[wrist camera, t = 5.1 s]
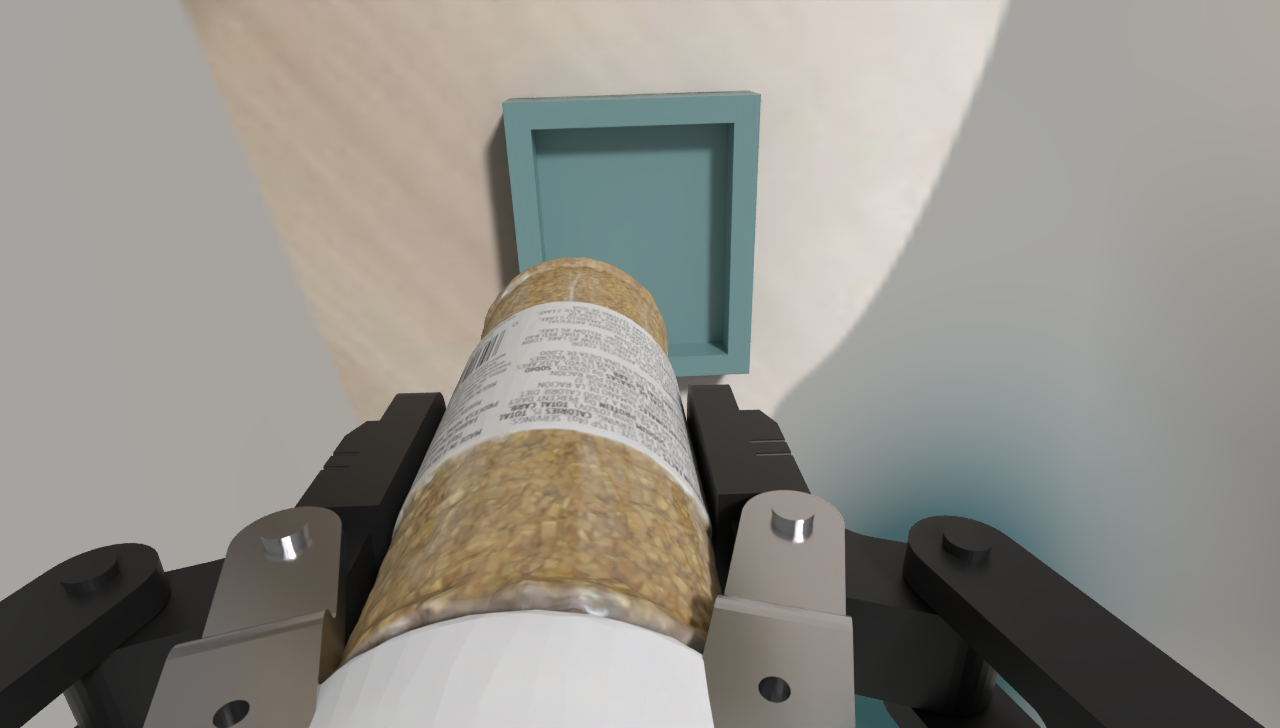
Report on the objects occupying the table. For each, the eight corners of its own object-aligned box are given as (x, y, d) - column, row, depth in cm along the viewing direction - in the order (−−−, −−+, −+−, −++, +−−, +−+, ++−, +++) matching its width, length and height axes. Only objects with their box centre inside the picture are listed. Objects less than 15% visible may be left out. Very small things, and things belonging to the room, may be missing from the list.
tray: (510, 98, 29) (502, 103, 27) (748, 90, 29) (760, 94, 27) (536, 360, 34) (531, 383, 32) (739, 351, 34) (748, 373, 32)
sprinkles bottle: (580, 454, 18) (535, 1258, 6) (443, 342, 17) (12, 1098, 5) (707, 338, 17) (976, 1035, 5) (572, 208, 16) (467, 725, 3)
